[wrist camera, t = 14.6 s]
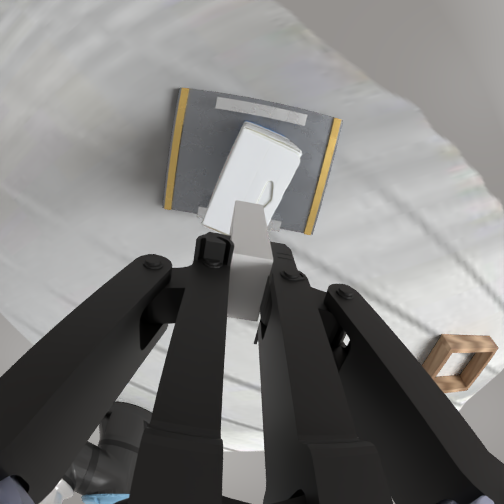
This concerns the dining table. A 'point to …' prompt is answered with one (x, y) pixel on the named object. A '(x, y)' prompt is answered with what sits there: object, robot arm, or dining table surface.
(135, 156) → the dining table surface
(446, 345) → the stand
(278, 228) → the grey tray
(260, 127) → the ink box
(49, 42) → the dining table surface
